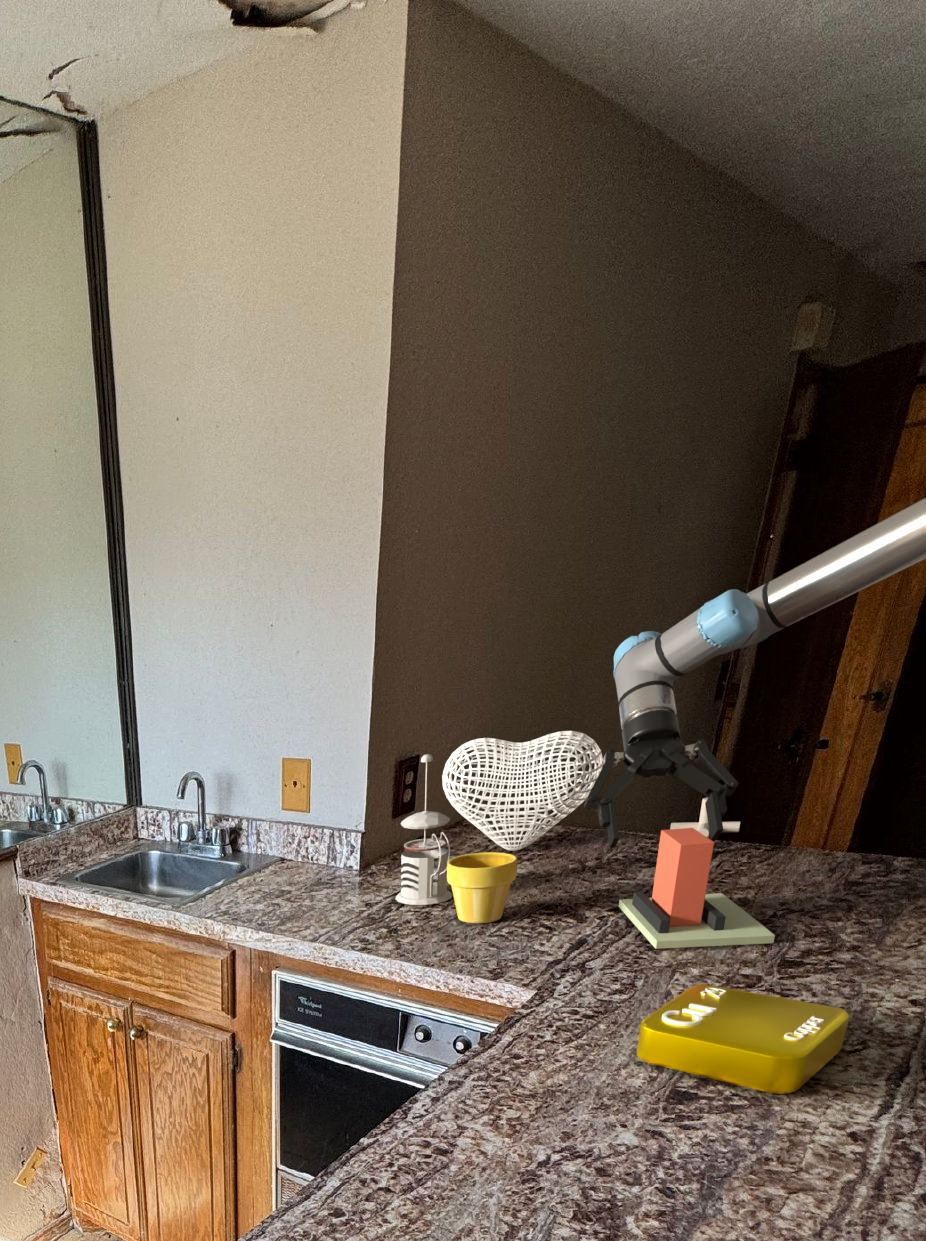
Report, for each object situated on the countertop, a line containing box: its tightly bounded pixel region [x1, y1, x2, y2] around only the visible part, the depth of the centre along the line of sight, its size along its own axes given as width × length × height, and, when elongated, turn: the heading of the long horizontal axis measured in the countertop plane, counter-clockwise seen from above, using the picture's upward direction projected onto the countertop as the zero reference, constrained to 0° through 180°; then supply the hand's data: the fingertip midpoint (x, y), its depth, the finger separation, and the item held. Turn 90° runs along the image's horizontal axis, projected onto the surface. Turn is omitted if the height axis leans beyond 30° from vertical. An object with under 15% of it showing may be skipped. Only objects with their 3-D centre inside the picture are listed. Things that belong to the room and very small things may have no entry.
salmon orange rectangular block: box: [651, 828, 715, 927], centre depth 128 cm, size 4×9×12 cm, turn 164°
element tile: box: [636, 983, 850, 1095], centre depth 95 cm, size 15×15×5 cm
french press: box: [394, 753, 453, 906], centre depth 154 cm, size 10×12×25 cm
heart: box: [441, 730, 604, 852], centre depth 173 cm, size 28×16×22 cm, turn 62°
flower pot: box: [446, 851, 518, 924], centre depth 144 cm, size 10×10×10 cm
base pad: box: [618, 891, 776, 950], centre depth 130 cm, size 14×20×3 cm
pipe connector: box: [669, 797, 741, 839], centre depth 156 cm, size 10×10×10 cm
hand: (665, 839), depth 135 cm, fingers open, 13 cm apart
